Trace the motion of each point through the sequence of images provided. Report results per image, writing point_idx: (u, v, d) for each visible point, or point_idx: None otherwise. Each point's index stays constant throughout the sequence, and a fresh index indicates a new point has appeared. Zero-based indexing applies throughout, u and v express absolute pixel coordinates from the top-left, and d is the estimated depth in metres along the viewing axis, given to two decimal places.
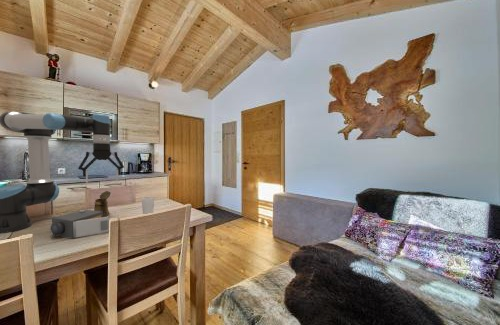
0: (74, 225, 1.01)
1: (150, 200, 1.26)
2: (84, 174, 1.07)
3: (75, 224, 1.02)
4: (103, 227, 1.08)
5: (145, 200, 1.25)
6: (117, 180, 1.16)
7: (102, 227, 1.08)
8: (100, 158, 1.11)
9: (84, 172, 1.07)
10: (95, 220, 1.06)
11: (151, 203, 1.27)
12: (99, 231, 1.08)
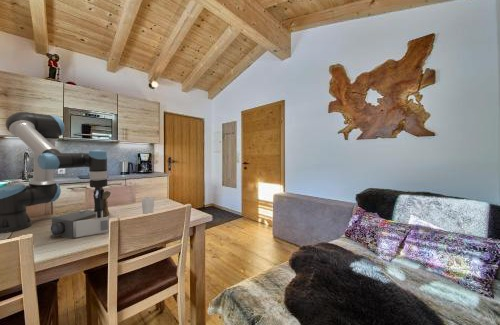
0: (74, 225, 1.01)
1: (150, 200, 1.26)
2: None
3: (75, 224, 1.02)
4: (103, 227, 1.08)
5: (145, 200, 1.25)
6: None
7: (102, 227, 1.08)
8: None
9: None
10: (95, 220, 1.06)
11: (151, 203, 1.27)
12: (99, 231, 1.08)
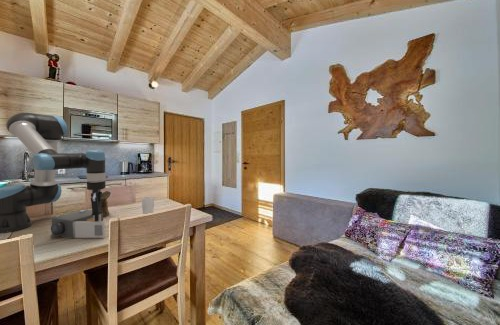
0: (73, 225, 1.01)
1: (150, 200, 1.26)
2: None
3: (74, 224, 1.01)
4: (97, 232, 1.01)
5: (145, 200, 1.25)
6: None
7: (96, 232, 1.01)
8: None
9: None
10: (91, 223, 1.02)
11: (151, 203, 1.27)
12: (94, 235, 1.02)
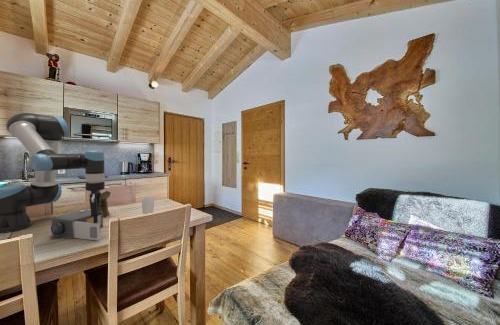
0: (73, 225, 1.01)
1: (150, 200, 1.26)
2: None
3: (73, 224, 1.01)
4: (92, 234, 0.99)
5: (145, 200, 1.25)
6: None
7: (91, 234, 0.99)
8: None
9: None
10: (87, 225, 1.00)
11: (151, 203, 1.27)
12: None
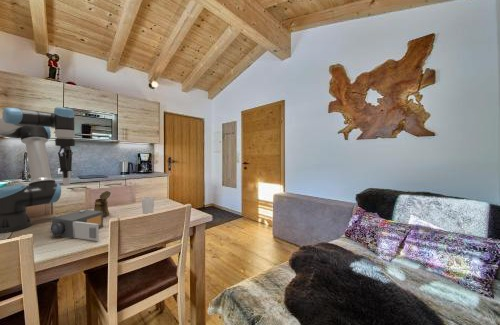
0: (73, 225, 1.01)
1: (150, 200, 1.26)
2: None
3: (73, 224, 1.01)
4: (91, 234, 0.98)
5: (145, 200, 1.25)
6: (63, 183, 1.06)
7: (90, 234, 0.98)
8: None
9: None
10: (87, 225, 1.00)
11: (151, 203, 1.27)
12: (90, 237, 1.00)
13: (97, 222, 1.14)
